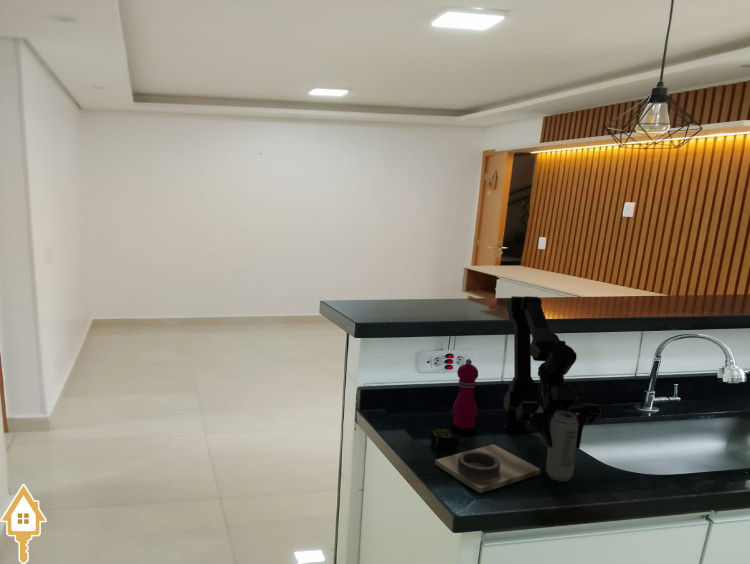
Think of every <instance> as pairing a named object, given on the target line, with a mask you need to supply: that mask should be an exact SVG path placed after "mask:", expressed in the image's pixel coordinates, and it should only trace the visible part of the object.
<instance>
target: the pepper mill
mask: <svg viewBox="0 0 750 564" xmlns="http://www.w3.org/2000/svg"><path fill="white" fill-rule="evenodd" d="M456 373H457V377H458V378H459V379H458V383H457V384H458V386H459V389H458V390H459V391H458V395H457V397H456V399H455V401H454V403H453V406H452V414H453V415H454V417H453V425H454V427H456V428H458V427H459V429H463V430H469V429H473V428H475V425H476V420H475V418H476V417H477V415H478V407H477V402H476V401H475V396H474V395H475V394H474V390H475V387H476V386H477V385H476V383H477V381H476V379H478V378H479V377H478V376H479V370H478V368H477V366H475V365H474V364H472V360H471V359H470V358H468V359H466V360H465V363H463V364H461V365H460V366H459V367H458V369H457V372H456Z"/></svg>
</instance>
